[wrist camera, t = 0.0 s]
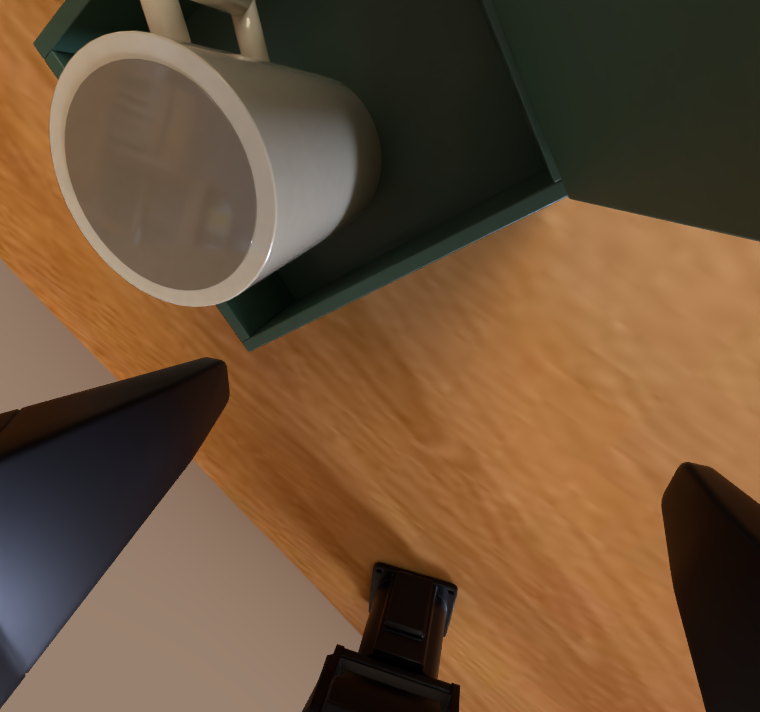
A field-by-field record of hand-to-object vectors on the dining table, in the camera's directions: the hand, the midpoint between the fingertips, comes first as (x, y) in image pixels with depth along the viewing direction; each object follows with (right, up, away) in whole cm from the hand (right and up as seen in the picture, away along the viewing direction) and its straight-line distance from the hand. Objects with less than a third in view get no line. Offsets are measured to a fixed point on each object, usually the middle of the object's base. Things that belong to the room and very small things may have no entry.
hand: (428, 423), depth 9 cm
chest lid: (+1, +9, -4) cm, 10 cm away
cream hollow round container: (-4, +12, +12) cm, 17 cm away
